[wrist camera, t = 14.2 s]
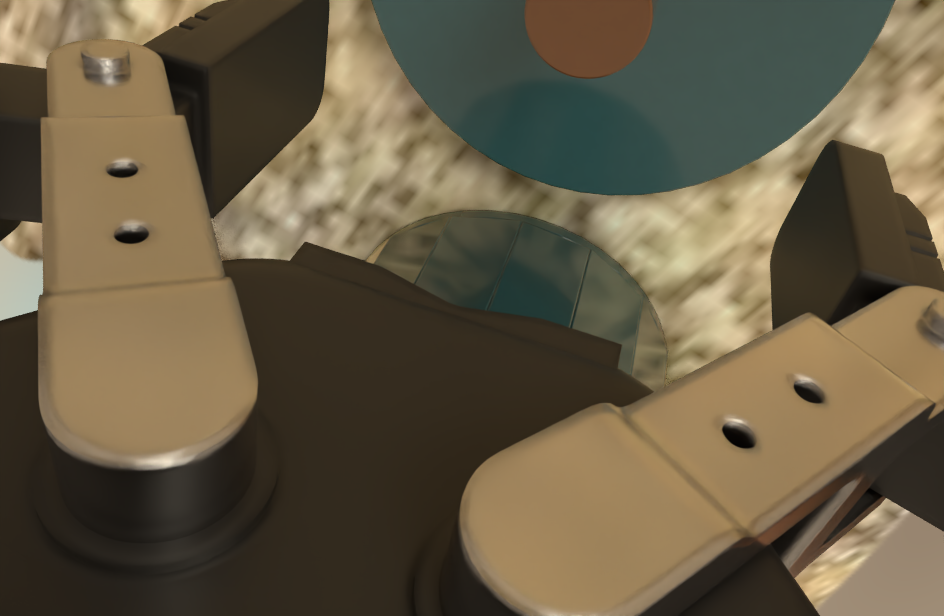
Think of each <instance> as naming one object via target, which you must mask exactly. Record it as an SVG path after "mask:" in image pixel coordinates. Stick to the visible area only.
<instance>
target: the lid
mask: <svg viewBox="0 0 944 616" xmlns="http://www.w3.org/2000/svg"><path fill="white" fill-rule="evenodd" d="M371 1H372V4H373V7H374V10H375V13H376V15H377V18H378V21H379V24H380V27H381V30H382V32H383V34H384V36H385V38H386V40H387V43H388V45H389V47H390V49H391V51H392V53H393V55H394V57H395V59H396V61H397V62H398V64H399V66H400V67H401V69H402V70H403V72H404V74H405V75H406V77H407V79H408V80H409V82H410V83H411V85H412V86H413V87H414V89H415V90H416V91H417V93H418V94H419V95H420V96H421V98H422V99H423V100H424V101H425V103H426V104H427V105H428V107H429V108H430V109H431V110H432V111H433V112H434V113H435V114H436V115H437V116H438V117H439V118H440V119H441V120H442V121H443V122H444V123H445V124H446V125H447V126H448V127H449V128H450V129H451V130H452V131H453V132H454V133H456V134H457V135H458V136H459V137H461V138H462V139H463V140H464V141H466V142H467V143H468V144H469V145H471V146H472V147H473V148H475V149H476V150H478V151H479V152H481V153H482V154H484V155H486V156H487V157H489V158H490V159H492V160H493V161H495V162H497V163H498V164H500V165H502V166H504V167H506V168H508V169H511V170H513V171H515V172H517V173H519V174H521V175H523V176H525V177H528V178H531V179H534V180H537V181H540V182H542V183H545V184H548V185H551V186H555V187H560V188H564V189H568V190H573V191H577V192H584V193H593V194H602V195H643V194H652V193H660V192H668V191H673V190H677V189H681V188H685V187H690V186H694V185H698V184H701V183H704V182H707V181H710V180H712V179H715V178H718V177H721V176H723V175H726V174H729V173H731V172H733V171H735V170H737V169H739V168H741V167H743V166H745V165H747V164H749V163H751V162H753V161H755V160H757V159H759V158H761V157H762V156H764V155H765V154H767V153H768V152H770V151H772V150H773V149H775V148H776V147H778V146H779V145H781V144H782V143H784V142H785V141H787V140H788V139H790V138H791V137H792V136H793V135H794V134H796V133H797V132H798V131H799V130H801V129H802V128H803V127H804V126H805V125H807V124H808V123H809V122H810V121H811V120H813V119H814V118H815V117H816V116H817V115H818V114H819V113H820V112H821V111H822V110H823V109H824V108H825V107H826V106H827V105H828V104H829V103H830V102H831V101H832V100H833V98H834V97H835V96H836V95H837V94H838V93H839V92H840V91H841V90H842V89H843V87H844V86H845V85H846V83H847V82H848V81H849V80H850V78H851V77H852V76H853V74H854V73H855V72H856V70H857V69H858V68H859V66H860V65H861V64H862V62H863V61H864V60H865V58H866V56H867V54H868V53H869V51H870V49H871V48H872V46H873V44H874V43H875V41H876V39H877V37H878V36H879V34H880V32H881V31H882V29H883V27H884V25H885V23H886V21H887V18H888V16H889V14H890V11H891V9H892V7H893V5H894V2H895V0H371Z"/></svg>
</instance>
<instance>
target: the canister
mask: <svg viewBox="0 0 944 616" xmlns="http://www.w3.org/2000/svg"><path fill="white" fill-rule="evenodd" d="M366 262H369V263H372V264H375V265H379V266H381V267H383V268H385V269H387V270H389V271H391V272H393V273H394V274H396V275H398V276H400V277H402V278H404V279H406V280H407V281H409V282H411V283H413V284H415V285H417V286H419V287H421V288H422V289H424V290H426V291H428V292H430V293H432V294H434V295H435V296H437V297H439V298H441V299H443V300H445V301H447V302H449V303H451V304H454V305H457V306H461V307H467V308H474V309H481V310H487V311H494V312H501V313H508V314H514V315H521V316H528V317H535V318H542V319H545V320H548V321H551V322H554V323H557V324H560V325H563V326H567V327H570V328H573V329H576V330H579V331H582V332H585V333H588V334H591V335H594V336H597V337H600V338H604V339H607V340H610V341H613V342H616V343H619V344H622V348H621V353H620V359H619V364H618V368H619V369H621V370H622V371H624V372H626V373H628V374H629V375H631V376H633V377H634V378H636V379H637V380H639V381H640V382H642V383H643V384H645V385H646V386H647V387H649V388H650V389H651V390H653V391H654V392H655V391H657V390H659V389H661V388H663V387H665V383H666V372H667V357H668V352H667V348H666V344H665V339H664V333H663V330H662V328H661V325H660V322H659V319H658V316H657V314H656V312H655V310H654V309H653V307H652V305H651V303H650V301H649V299H648V298H647V296H646V295H645V293H644V292H643V291H642V289H641V288H640V287H639V285H638V284H637V283H636V281H635V280H634V279H633V278H632V277H631V276H630V275H629V274H628V273H627V272H626V271H625V270H624V269H623V268H622V266H621V265H620V264H618V263H617V262H616V261H615V260H614V259H612V258H611V257H610V256H609V255H607V254H606V253H605V252H604V251H602V250H601V249H600V248H598V247H596V246H595V245H593V244H592V243H590V242H588V241H587V240H585V239H584V238H582V237H580V236H578V235H576V234H574V233H572V232H570V231H568V230H566V229H564V228H562V227H559V226H557V225H554V224H551V223H548V222H545V221H542V220H540V219H537V218H532V217H528V216H524V215H519V214H515V213H508V212H499V211H491V210H467V211H459V212H451V213H444V214H441V215H437V216H433V217H429V218H425V219H423V220H420V221H418V222H415V223H413V224H411V225H408V226H406V227H404V228H403V229H401V230H399V231H398V232H396V233H394V234H393V235H391V236H390V237H389V238H387V239H386V240H385V241H384V242H383V243H381V244H380V245H379V246H378V247H377V248H376V249H375V250H374V251H373V253H372V254H371V255H370V256H369V257H368V259H367V260H366Z"/></svg>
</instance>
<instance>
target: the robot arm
mask: <svg viewBox="0 0 944 616" xmlns="http://www.w3.org/2000/svg"><path fill="white" fill-rule="evenodd" d="M328 23H329V0H226V1H222V2H217V3H213V4H212V5H210V6H208V7H206V8H205V9H203V10H201V11H200V12H198V13H196V14H195V17H190V18H188V19H186V20H184V21H183V22H181V23H179V27H178V26H174V27H173V28H171V29H169V30H168V31H166V32H164V33H163V34H161V35H159V36H157V37H156V38H154V39H152V40H151V41H149V42H147V43H146V44H144V45H142V46H141V45H138V44H135V43H131V42H126V41H121V40H112V39H90V40H81V41H76V42H72V43H68V44H65V45H63V46H60V47H58V48H56V49H55V50H53V51H52V52H51V53H50V54H49V56H48V57H47V62H46V64H47V69H44V68H36V67H29V66H21V65H13V64H6V63H0V241H1V240H3V239H4V238H5V237H6V236H7V235H9V234H10V233H11V232H12V231H13V230H15V229H16V228H17V227H18V226H19V224H20V223H21V221H28V222H38V223H42V235H43V294H42V295H40V296H39V300H38V310H37V311H34V312H30V313H27V314H23V315H19V316H16V317H12V318H8V319H5V320H2V321H0V616H820V615H819V614H818V612H817V611H816V609H815V608H814V606H813V605H812V603H811V602H810V601H809V599H808V598H807V596H806V595H805V593H804V592H803V590H802V589H801V588H800V586H799V585H798V583H797V582H796V580H795V579H794V578H795V577H796V576H797V575H798V574H799V573H800V572H801V571H803V570H804V569H805V568H806V567H807V566H808V565H809V564H810V563H812V562H813V561H814V560H815V559H816V558H818V557H819V556H820V555H821V554H822V553H823V552H825V551H826V550H827V549H828V548H829V547H831V546H832V545H833V544H834V543H835V542H837V541H838V540H839V539H840V538H841V537H842V536H844V535H845V534H846V533H847V532H848V531H850V530H851V529H852V528H853V527H854V526H856V525H857V524H858V523H859V522H860V521H861V520H863V519H864V518H865V517H866V516H867V515H869V514H870V513H871V512H872V511H873V510H875V509H876V508H877V507H878V506H879V505H880V504H881V503H882V502H883V501H884V500H885V498H887V499H889V500H891V501H893V502H894V503H896V504H898V505H899V506H901V507H903V508H904V509H906V510H908V511H910V512H911V513H913V514H915V515H916V516H918V517H920V518H922V519H923V520H925V521H927V522H928V523H930V524H932V525H933V526H935V527H937V528H939V529H940V530H942V531H944V271H943V268H942V265H941V262H940V259H937V256H938V253H937V250H936V247H935V244H934V242H931V240H932V235H931V232H930V229H929V226H928V223H927V220H926V217H925V216H924V215H923V214H922V213H921V212H920V211H919V210H918V209H917V208H916V206H915V205H914V204H913V203H912V202H911V201H910V200H909V199H908V198H907V197H906V196H905V195H902V194H898V193H895V192H894V190H893V186H892V183H891V179H890V176H889V172H888V169H887V165H886V162H885V158H884V156H883V155H882V154H879V153H876V152H872V151H869V150H866V149H862V148H859V147H855V146H852V145H849V144H845V143H842V142H838V141H835V140H832V141H830V142H829V143H828V144H827V145H826V146H825V147H824V149H823V150H822V152H821V153H820V155H819V157H818V159H817V161H816V162H815V164H814V166H813V168H812V170H811V172H810V174H809V176H808V177H807V179H806V181H805V183H804V185H803V187H802V189H801V191H800V192H799V194H798V196H797V198H796V200H795V202H794V204H793V206H792V207H791V209H790V211H789V213H788V215H787V217H786V219H785V221H784V222H783V224H782V226H781V228H780V231H779V233H778V235H777V238H776V241H775V243H774V247H773V250H772V254H771V261H770V272H771V299H772V325H773V330H772V331H770V332H768V333H766V334H764V335H762V336H761V337H759V338H757V339H755V340H753V341H751V342H749V343H747V344H745V345H743V346H741V347H740V348H738V349H736V350H734V351H732V352H730V353H728V354H726V355H724V356H722V357H720V358H718V359H717V360H715V361H713V362H711V363H709V364H707V365H705V366H703V367H701V368H699V369H697V370H695V371H694V372H692V373H690V374H688V375H686V376H684V377H682V378H680V379H678V380H676V381H674V382H672V383H671V384H669V385H667V386H665V387H663V388H661V389H659V390H657V391H655V392H654V391H653V390H651V389H650V388H649V387H647V386H646V385H645V384H643V383H642V382H640V381H639V380H637V379H636V378H634V377H633V376H631V375H629V374H628V373H626V372H624V371H622V370H621V369H619V368H618V364H619V359H620V353H621V348H622V344H619V343H616V342H613V341H610V340H607V339H604V338H600V337H597V336H594V335H591V334H588V333H585V332H582V331H579V330H576V329H573V328H570V327H567V326H563V325H560V324H557V323H554V322H551V321H548V320H545V319H542V318H535V317H528V316H521V315H514V314H508V313H501V312H494V311H487V310H481V309H474V308H467V307H461V306H457V305H454V304H451V303H449V302H447V301H445V300H443V299H441V298H439V297H437V296H435V295H434V294H432V293H430V292H428V291H426V290H424V289H422V288H421V287H419V286H417V285H415V284H413V283H411V282H409V281H407V280H406V279H404V278H402V277H400V276H398V275H396V274H394V273H393V272H391V271H389V270H387V269H385V268H383V267H381V266H379V265H375V264H372V263H369V262H366V261H363V260H360V259H357V258H354V257H351V256H348V255H345V254H342V253H338V252H335V251H332V250H329V249H326V248H323V247H320V246H317V245H314V244H311V243H308V242H304V244H303V245H302V246H301V247H300V249H299V250H298V251H297V252H296V254H295V255H294V256H293V257H292V259H291V260H290V261H287V260H277V259H236V260H226V261H222V260H221V257H220V253H219V249H218V245H217V241H216V237H215V233H214V229H213V225H212V221H211V218H214V217H215V216H216V215H217V214H218V213H219V212H220V211H221V210H222V209H223V208H224V207H225V206H226V205H227V204H228V203H229V202H230V201H231V200H232V199H233V198H234V197H235V196H236V195H237V194H238V193H239V192H240V191H241V190H242V189H243V188H244V187H245V186H246V185H247V184H248V183H249V182H250V181H251V180H252V179H253V178H254V177H255V176H256V175H257V174H258V173H259V172H260V171H261V170H262V169H263V168H264V167H265V166H266V165H267V164H268V163H269V162H270V161H271V160H272V159H273V158H274V157H275V156H276V155H277V154H278V153H279V152H280V151H281V150H282V149H283V148H284V147H285V146H286V145H287V144H288V143H289V142H290V141H291V140H292V139H293V138H294V137H295V136H296V135H297V134H298V133H299V132H300V131H301V130H302V129H303V128H304V127H305V126H306V125H307V124H308V123H309V122H310V121H311V120H312V119H313V118H314V116H315V114H316V112H317V110H318V108H319V105H320V102H321V99H322V95H323V90H324V80H325V66H326V52H327V38H328Z"/></svg>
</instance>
